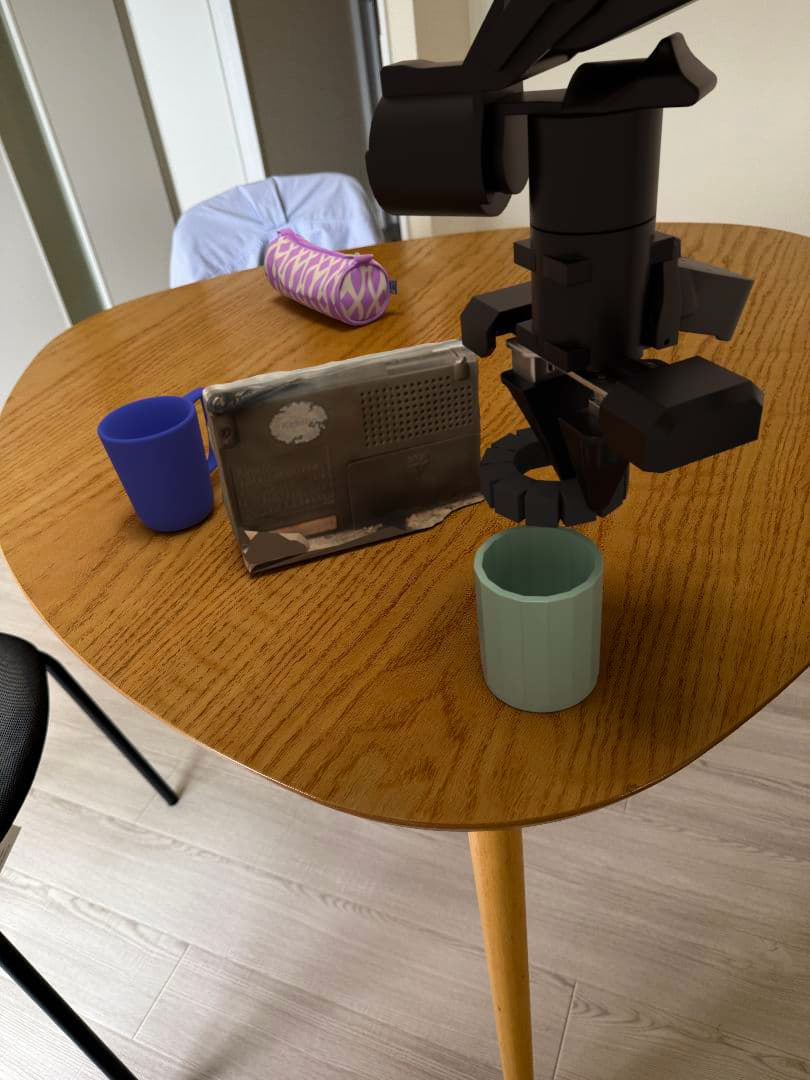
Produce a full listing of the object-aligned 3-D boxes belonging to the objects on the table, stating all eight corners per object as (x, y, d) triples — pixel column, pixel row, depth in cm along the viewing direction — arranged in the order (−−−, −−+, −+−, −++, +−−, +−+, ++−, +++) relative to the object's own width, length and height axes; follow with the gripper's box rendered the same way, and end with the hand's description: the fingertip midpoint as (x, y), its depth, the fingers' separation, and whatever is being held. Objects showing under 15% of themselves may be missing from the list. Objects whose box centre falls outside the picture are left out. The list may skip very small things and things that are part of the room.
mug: (264, 476, 75) (240, 380, 69) (187, 548, 67) (152, 446, 61) (197, 465, 78) (168, 373, 73) (115, 533, 70) (75, 434, 64)
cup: (572, 620, 54) (573, 513, 49) (617, 696, 48) (625, 584, 43) (469, 644, 53) (459, 538, 48) (502, 725, 47) (496, 614, 42)
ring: (593, 440, 52) (593, 413, 51) (653, 508, 45) (655, 479, 44) (466, 467, 52) (464, 440, 50) (508, 541, 44) (506, 512, 43)
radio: (483, 465, 72) (473, 307, 63) (517, 513, 65) (511, 344, 56) (233, 524, 69) (186, 367, 60) (241, 582, 62) (189, 413, 53)
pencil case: (403, 315, 106) (394, 244, 101) (348, 337, 102) (335, 264, 96) (314, 285, 121) (302, 222, 116) (263, 304, 117) (248, 239, 111)
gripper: (899, 217, 31) (823, 535, 40) (618, 158, 45) (609, 402, 54) (666, 282, 28) (641, 608, 37) (446, 198, 43) (466, 447, 52)
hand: (586, 498), depth 45 cm, fingers closed on ring, 2 cm apart
